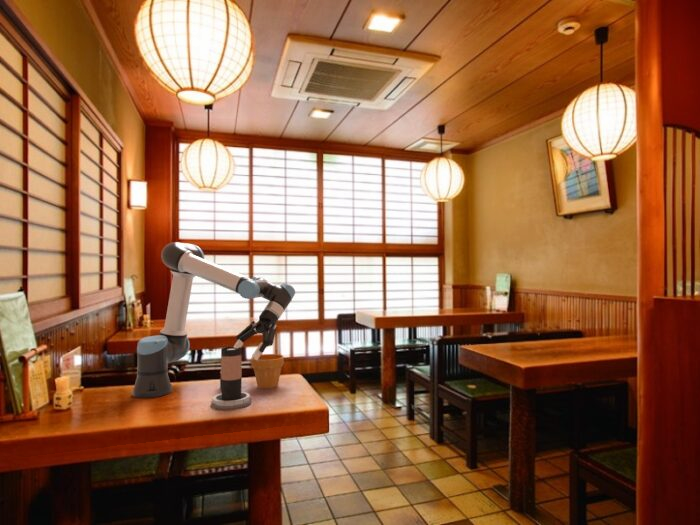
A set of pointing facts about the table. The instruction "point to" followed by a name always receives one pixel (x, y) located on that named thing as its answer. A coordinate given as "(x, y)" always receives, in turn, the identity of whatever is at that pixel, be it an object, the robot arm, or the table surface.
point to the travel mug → (231, 373)
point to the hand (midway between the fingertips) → (242, 356)
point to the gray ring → (230, 402)
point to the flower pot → (267, 369)
